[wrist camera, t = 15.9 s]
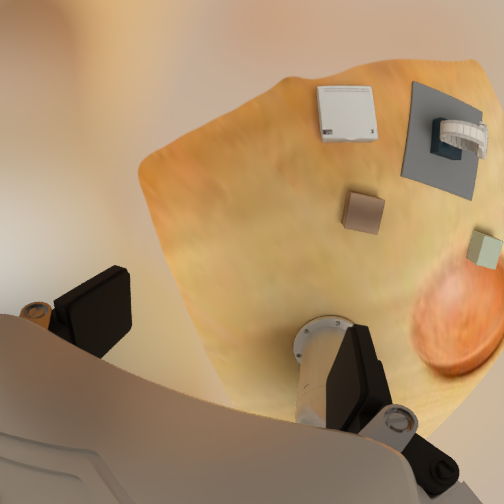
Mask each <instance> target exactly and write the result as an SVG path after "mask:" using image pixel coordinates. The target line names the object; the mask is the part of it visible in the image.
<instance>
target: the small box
mask: <svg viewBox="0 0 504 504" xmlns="http://www.w3.org/2000/svg"><path fill="white" fill-rule="evenodd" d="M317 104H318V113H319V123H320V131H321V140H322V143H371V142H373V141H375V140H378V131H377V123H376V115H375V107H374V100H373V94H372V87H371V86H318V87H317Z"/></svg>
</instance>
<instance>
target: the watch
mask: <svg viewBox="0 0 504 504" xmlns="http://www.w3.org/2000/svg"><path fill="white" fill-rule="evenodd" d="M463 128H464V132H463ZM487 143H488V129H487V125H484V122H482V121H480V124H478V125H475V124H472V123H469V122H465V121H459V120H447V119H445V118H442V117H439V118H437V119H434V120H433V122H432V137H431V149H430V153H431V154H435V155H438V156H441V157H444V158H447V159H450V160H461V157H462V149H464V150H467V151H468V150H469V151H471V152H475V153H476V157H478V158H481V159H483V160H484V159H485V157H486V152H487Z"/></svg>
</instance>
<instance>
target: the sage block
mask: <svg viewBox="0 0 504 504" xmlns="http://www.w3.org/2000/svg"><path fill="white" fill-rule="evenodd" d="M502 245H503V241H501V240H499V239H497V238H495V237H493V236H490V235H487V234H484V233H481V232H478V231H475V230H473V234H472V238H471V242H470V245H469V249H468V252H467V256H466V258H467V259H469V260H470V261H472V262H473V263H475V264H476V265H479V266H483V267H487V268H491V269H494V270H495V268H496V265H497V262H498V259H499V255H500V252H501V248H502Z"/></svg>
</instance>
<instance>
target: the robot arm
mask: <svg viewBox="0 0 504 504" xmlns="http://www.w3.org/2000/svg"><path fill="white" fill-rule="evenodd" d="M54 307H55V308H54V309H53V310H52V309H51V306H50V305H49V304H47V303H44V302H33V303H30V304H28V305H26V306H25V307H24V308H23V309H22V310H21V313H20V316H19V317H18V316H13V315H8V314H0V504H482V502H481V501H480V500H479V499H478V498H477V496H476V495H475V494H474V493H473V491H472V490H471V489H470V488H469V487H468V485H467V484H466V483H465V482H464V481H463V482H462V483H460V482H459V481H458V477H459V468H458V465H457V463H456V462H455V461H454V460H453V459H452V458H451V457H449V456H448V455H446V454H445V453H444V452H442V451H441V450H439V449H438V448H436V447H435V446H433V445H432V444H431V443H429V442H428V441H426V440H425V439H424V438H422V437H421V436H419V435H418V434H417V433H415V432H416V431H417V428H418V420H417V417H416V415H415V414H414V413H413V412H412V411H411V410H410V409H408V408H407V407H405V406H402V405H398V404H393V403H392V399H391V395H390V391H389V387H388V383H387V380H386V376H385V372H384V369H383V365H382V363H381V361H380V360H378V359H377V356H376V352H375V349H374V345H373V342H372V338H371V335H370V332H369V328H368V326H363V325H358V324H354V323H352V322H351V321H349V320H347V319H345V318H342V317H338V316H324V317H320V318H316V319H314V320H312V321H310V322H308V323H307V324H305V325H304V326H303V327H302V328H301V329H300V330H299V331H298V333H297V334H296V337H295V339H294V344H293V352H294V356H295V358H296V360H297V362H298V363H299V364H300V374H299V384H298V394H297V402H296V412H295V419H296V423H294V422H289V421H284V420H279V419H274V418H269V417H265V416H260V415H256V414H252V413H248V412H244V411H240V410H236V409H233V408H229V407H225V406H222V405H219V404H215V403H212V402H208V401H205V400H202V399H199V398H196V397H193V396H190V395H187V394H184V393H181V392H178V391H176V390H173V389H170V388H167V387H165V386H162V385H160V384H157V383H154V382H152V381H149V380H147V379H144V378H142V377H140V376H137V375H135V374H133V373H130V372H128V371H126V370H123V369H121V368H119V367H117V366H115V365H112V364H110V363H108V362H106V361H104V360H102V359H101V358H102V357H103V356H104V355H105V354H106V353H107V352H108V351H109V350H110V349H111V348H112V347H113V346H114V345H115V344H116V343H117V342H118V341H120V339H122V338H123V337H124V336H125V335H126V334H127V333H128V332H129V331H130V329H131V326H132V315H131V292H130V274H129V273H128V271H127V269H126V268H123V267H120V266H116V265H114V266H112V267H111V268H108V269H107V270H105V271H103V272H101V273H100V274H98V275H96V276H94V277H93V278H91V279H89V280H87V281H86V282H84V283H82V284H81V285H79V286H77V287H76V288H74V289H72V290H71V291H69V292H67V293H66V294H64V295H62V296H61V297H59V298H57V299H56V300H54ZM337 321H338V322H337ZM306 329H307V330H306Z"/></svg>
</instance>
